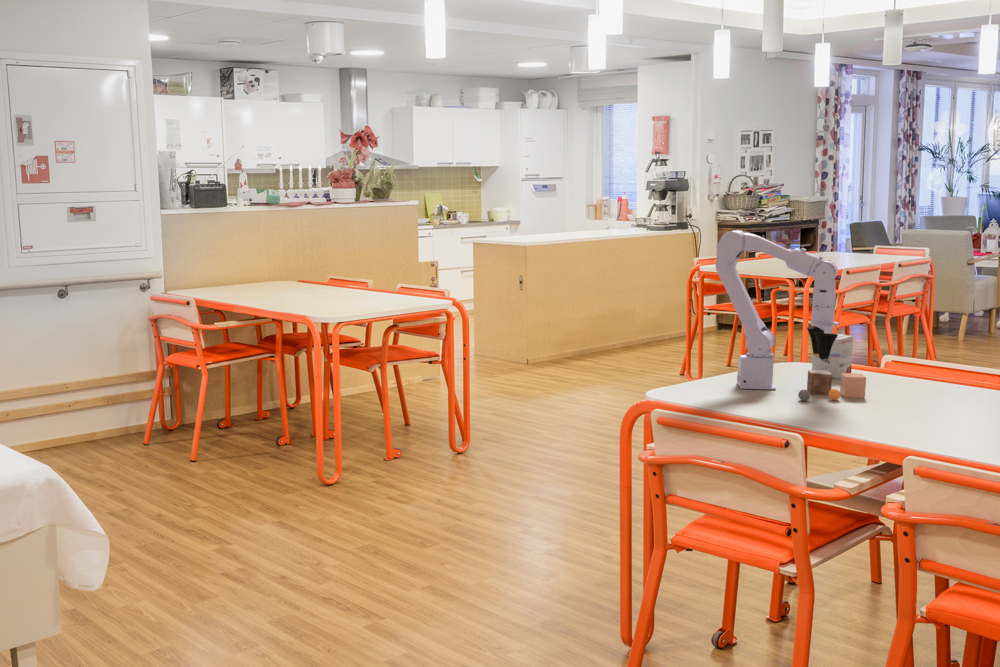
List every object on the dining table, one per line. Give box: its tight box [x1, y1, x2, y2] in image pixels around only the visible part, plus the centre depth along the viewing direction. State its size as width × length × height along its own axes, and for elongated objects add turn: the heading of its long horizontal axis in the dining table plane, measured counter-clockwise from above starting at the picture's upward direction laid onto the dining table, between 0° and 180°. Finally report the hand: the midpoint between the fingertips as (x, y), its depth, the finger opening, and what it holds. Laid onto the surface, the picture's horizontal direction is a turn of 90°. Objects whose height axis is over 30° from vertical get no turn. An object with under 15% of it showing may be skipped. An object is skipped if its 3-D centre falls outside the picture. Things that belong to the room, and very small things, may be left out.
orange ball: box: [828, 388, 841, 401], centre depth 245 cm, size 3×3×3 cm
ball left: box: [797, 389, 811, 402], centre depth 243 cm, size 3×3×3 cm
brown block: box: [806, 369, 833, 396], centre depth 253 cm, size 5×5×6 cm
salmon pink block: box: [839, 372, 867, 398], centre depth 250 cm, size 5×5×6 cm
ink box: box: [811, 333, 854, 379], centre depth 276 cm, size 9×9×12 cm
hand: (820, 356), depth 252 cm, fingers open, 7 cm apart
